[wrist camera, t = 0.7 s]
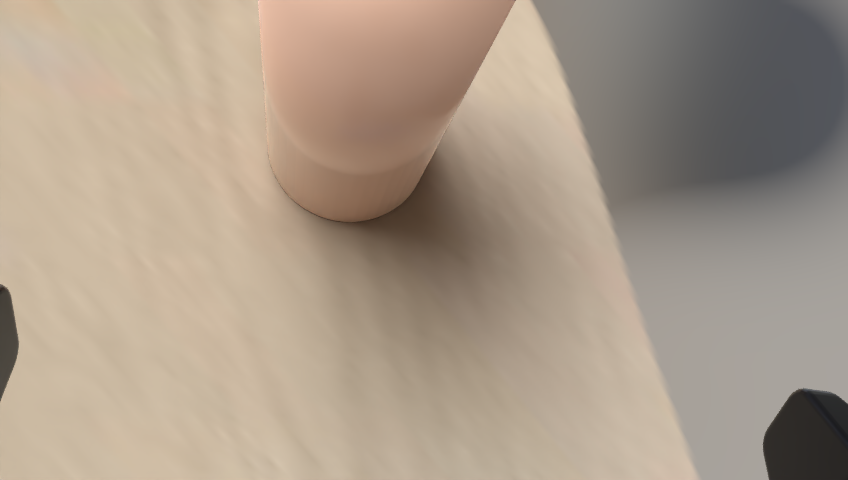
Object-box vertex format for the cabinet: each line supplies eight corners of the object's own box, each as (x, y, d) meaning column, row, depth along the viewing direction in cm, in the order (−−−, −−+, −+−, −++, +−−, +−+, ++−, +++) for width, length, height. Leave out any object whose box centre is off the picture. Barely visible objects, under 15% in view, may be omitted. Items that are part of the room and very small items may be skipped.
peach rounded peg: (422, 228, 25) (524, 78, 14) (259, 214, 24) (239, 43, 13) (429, 82, 26) (527, -155, 15) (275, 64, 25) (268, -200, 15)
